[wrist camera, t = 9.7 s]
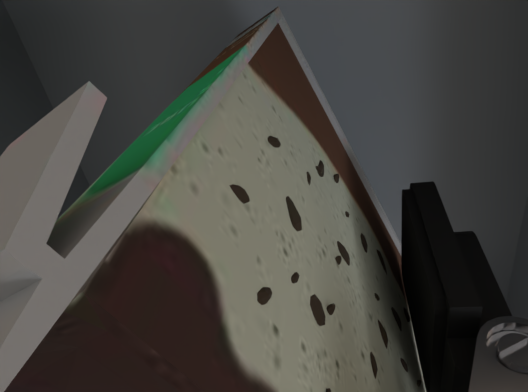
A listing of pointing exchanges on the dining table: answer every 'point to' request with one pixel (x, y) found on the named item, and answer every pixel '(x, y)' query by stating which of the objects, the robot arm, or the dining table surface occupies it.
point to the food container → (204, 245)
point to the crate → (330, 81)
